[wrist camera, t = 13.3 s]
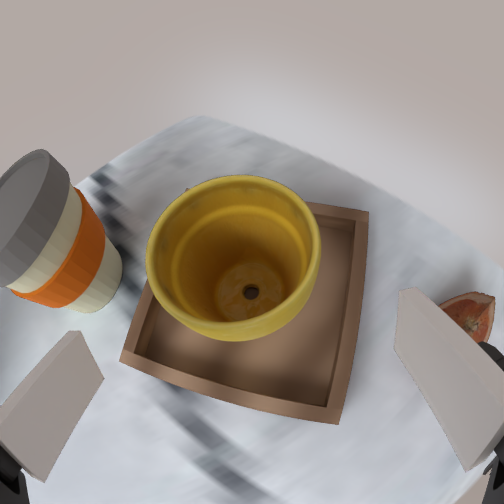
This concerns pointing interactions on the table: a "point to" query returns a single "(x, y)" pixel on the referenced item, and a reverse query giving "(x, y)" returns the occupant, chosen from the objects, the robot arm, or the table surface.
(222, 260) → the plant pot
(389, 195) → the table surface
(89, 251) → the reusable coffee cup
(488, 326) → the fruit slice
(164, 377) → the walnut tray
